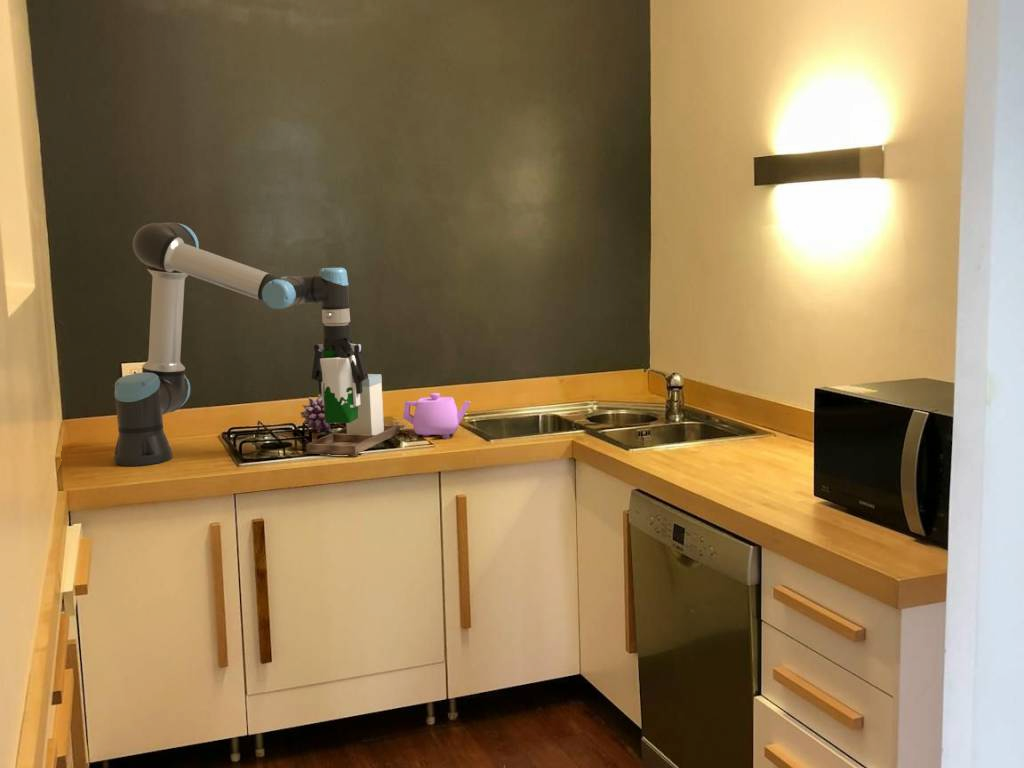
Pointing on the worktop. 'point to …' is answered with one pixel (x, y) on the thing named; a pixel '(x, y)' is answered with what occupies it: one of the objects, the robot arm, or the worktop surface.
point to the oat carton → (369, 408)
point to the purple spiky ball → (315, 415)
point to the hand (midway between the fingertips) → (341, 404)
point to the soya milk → (338, 388)
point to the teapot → (435, 415)
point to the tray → (349, 442)
